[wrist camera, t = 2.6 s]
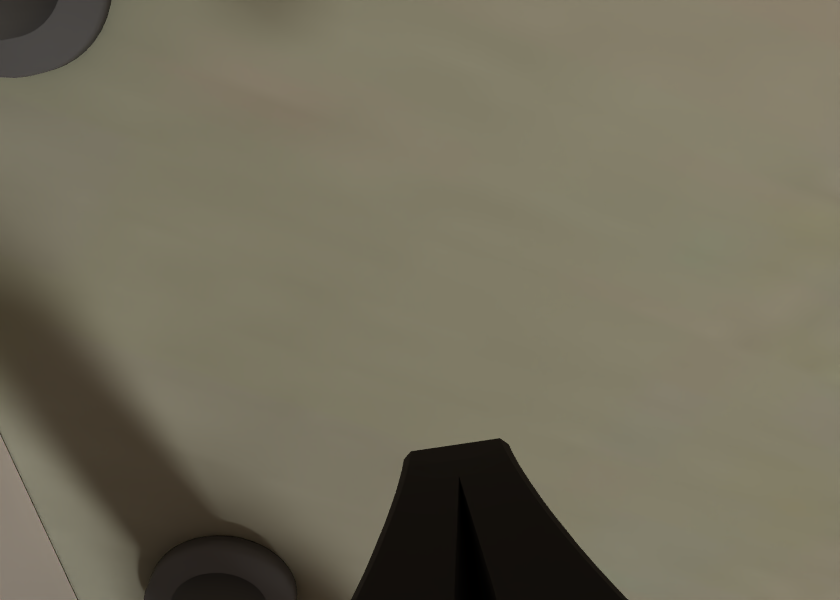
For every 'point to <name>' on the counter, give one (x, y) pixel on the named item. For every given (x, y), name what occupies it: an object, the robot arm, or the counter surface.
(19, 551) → the long narrow tray
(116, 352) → the counter surface
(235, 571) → the cord posts
